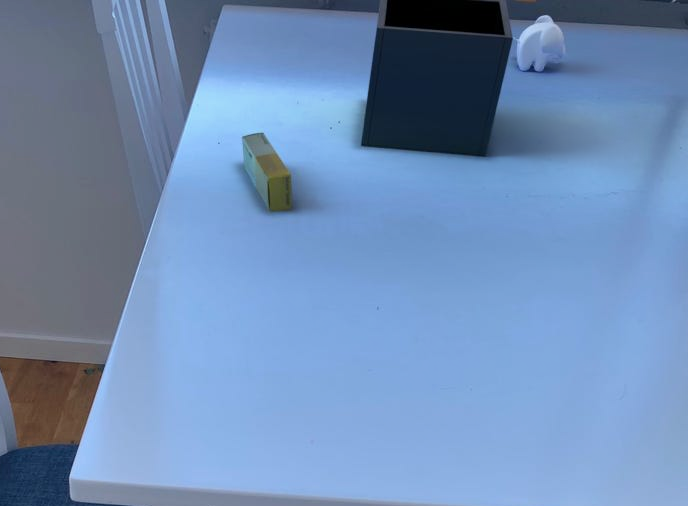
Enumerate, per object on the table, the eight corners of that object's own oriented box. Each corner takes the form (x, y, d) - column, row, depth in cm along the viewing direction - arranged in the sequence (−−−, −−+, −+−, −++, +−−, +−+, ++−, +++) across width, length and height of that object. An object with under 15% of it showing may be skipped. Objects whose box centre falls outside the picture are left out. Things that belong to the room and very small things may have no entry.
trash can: (479, 117, 120) (505, 0, 111) (484, 162, 110) (513, 38, 101) (365, 108, 121) (381, -9, 112) (359, 151, 112) (376, 27, 102)
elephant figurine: (566, 78, 131) (579, 29, 127) (508, 75, 131) (519, 26, 127) (558, 62, 135) (571, 14, 131) (502, 59, 136) (513, 11, 131)
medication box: (242, 172, 107) (240, 134, 104) (265, 168, 107) (264, 130, 104) (268, 215, 99) (267, 176, 96) (293, 211, 99) (293, 171, 96)
